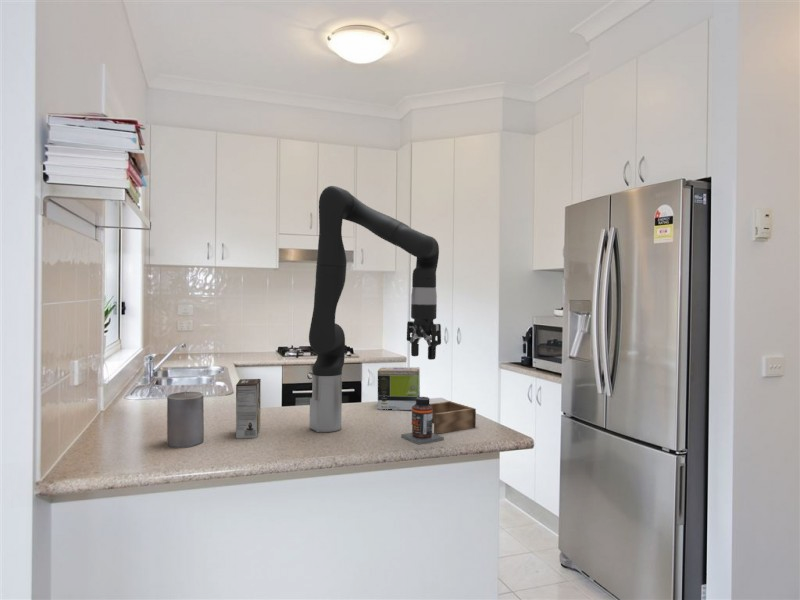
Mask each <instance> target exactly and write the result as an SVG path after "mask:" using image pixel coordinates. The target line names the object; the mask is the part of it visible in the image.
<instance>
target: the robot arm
mask: <svg viewBox="0 0 800 600" xmlns="http://www.w3.org/2000/svg"><path fill="white" fill-rule="evenodd" d="M343 220H345V221H348V222H351V223H355V224H357V225H359V226H361V227H363V228H364V229H366V230H368V231H369V232H371V233H373V234H374V235H375V236H377V237H379V238H381V239H382V240H384V241H386V242H388V243H389V244H392V245H394V246H396V247H399V248H400V249H402V250H404V251H405V252H406V253H409V254H410V256H413V257H415V258H416V263H415V268H414V269H413V271H412V279H411V281H412V285H411V287H412V288H411V295H410V297H411V298H410V301H411V302H410V303H411V304H410V318H411V319H412V320H410V321H407V322H406V323H407V326H406V341H407V342H409V344H410V346H411V347H410V349H411V350H410V353H411V354H410V355H411V356H412V357H418V356H419V351H420V350H419V349H420V347H419V345H420V344H419V342H420V340H421V339H422V338H423V340H424V341H426V343H427V359H428V360H430V361H431V360H436V357H437V355H436V354H437V350H436V349H437V346H439V345H440V346H441V344H442V325H441V323H434V320H436V319H437V310H438V309H437V307H438V306H437V301H438V300H437V298H438V296H437V295H438V294H437V268H438V262H439V256H440V255H439V254H440V245H439V243H438V241H437V239H436V238H434V237H433V236H430V235H428V234H425V233H422V232H420V231H418V230H415V229H414V228H411V227H410V226H409V225H408V224H405V223H404V222H402V221H400V220H398V219H396V218H394V217H392V216H389V215H387V214H385V213H383V212H380V211H378V210H375V209H373V208H371V207H369V205H366V204H365V203H363V202H362V201H361V200H359V199H358V198H357V197H356V196H354V195H353V194H352V193H350V192H349V191H348V190H347V189H344V188H342V187H339V186H335V185H329V186H327V187H325V188H324V189H323V190H322V192H321V193H320V195H319V200H318V222H319V223H318V225H319V226H318V228H319V231H318V233H319V234H318V244H317V256H316V257H317V258H316V267H315V268H316V269H315V284H314V285H315V286H314V295H313V296H314V297H313V298H314V300H313V310H312V316H311V321H310V327H309V331H308V332H309V333H308V343H309V345H310V348H311V349H312V351H313V352H314V353H317V355H316V356H317V357H316V360H315V362H314V363H313V365H312V367H311V368H312V373H311V374H312V379H311V380H312V382H311V383H312V384H311V386H312V389H311V390H312V393H311V394H312V395H311V397H310V398H309V429H310V430H313V431H314V432H317V433H329V432H336V431H340V430H341V429H342V423H343V422H342V420H343V419H342V412H343V410H342V409H343V408H342V406H343V405H342V403H343V400H342V397H343V393H342V392H343V391H342V389H343V386H342V385H343V368H344V364H345V356H346V355H345V353H346V351H345V350H346V336H345V332H344V329H343V328H342V326H340V325H339V324H338V323H336V312H337V306H338V303H339V301H340V299H341V295H342V293H343V290H344V287H345V283H346V279H347V277H346V275H347V255H346V254H347V253H346V250H345V246H344V242H343V235H342V233H343V232H342V231H343V230H342V227H343Z"/></svg>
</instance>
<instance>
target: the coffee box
mask: <svg viewBox="0 0 800 600" xmlns="http://www.w3.org/2000/svg"><path fill="white" fill-rule="evenodd" d="M261 382H262V381H261V378H243V379H242V378H241V379H239V380H238V381H237V383H236V385H235V390H236V391H235V438H236V439H257V438H258V437H259V434H260V431H261Z"/></svg>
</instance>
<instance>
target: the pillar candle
mask: <svg viewBox="0 0 800 600" xmlns="http://www.w3.org/2000/svg"><path fill="white" fill-rule="evenodd" d="M166 397H167V398H166V399H167V401H166V403H167V404H166V405H167V406H166V407H167V409H166V416H167V417H166V421H167V422H166V423H167V425H166V426H167V427H166V430H167V433H166V435H167V436H166V438H167V440H166V441H167V443H166V445H167V446H168V447H170V448H175V449H178V448H179V449H181V448H189V447H190V448H191V447H193V446H194V447H195V446H199V445H201V444H203V443H204V441H205V440H204V438H205V436H204V435H205V430H204V429H205V427H204V426H205V425H204V424H205V423H204V421H205V420H204V419H205V418H204V412H205V410H204V393H202V392H198V391H187V390H185V391H182V392H174V393H170V394H168V395H167V396H166Z"/></svg>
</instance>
